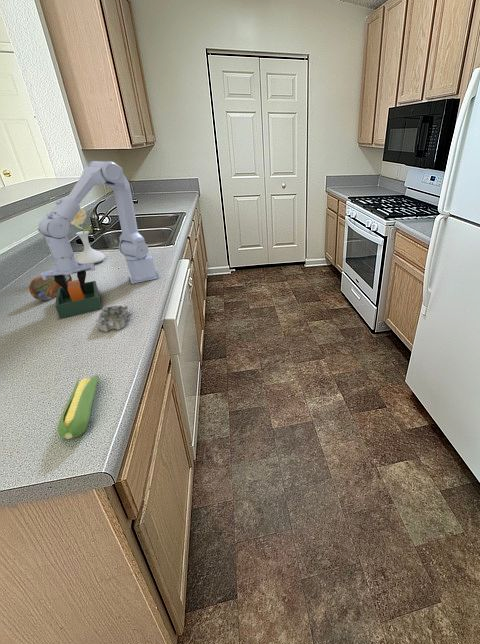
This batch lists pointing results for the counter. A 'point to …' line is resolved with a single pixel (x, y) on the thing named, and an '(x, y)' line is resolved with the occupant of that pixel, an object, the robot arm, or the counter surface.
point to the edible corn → (78, 409)
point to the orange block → (75, 290)
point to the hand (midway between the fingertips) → (77, 293)
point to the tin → (45, 287)
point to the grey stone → (112, 318)
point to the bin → (78, 301)
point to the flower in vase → (86, 241)
